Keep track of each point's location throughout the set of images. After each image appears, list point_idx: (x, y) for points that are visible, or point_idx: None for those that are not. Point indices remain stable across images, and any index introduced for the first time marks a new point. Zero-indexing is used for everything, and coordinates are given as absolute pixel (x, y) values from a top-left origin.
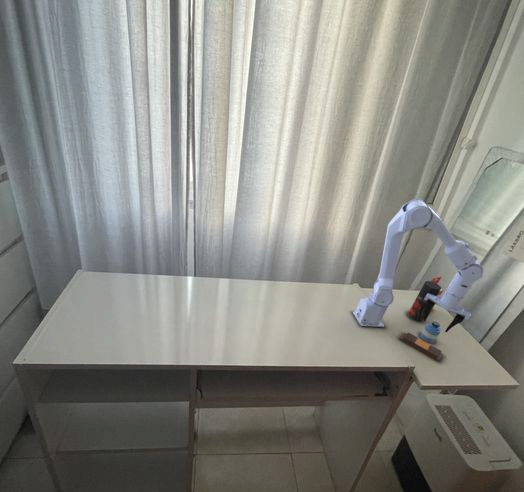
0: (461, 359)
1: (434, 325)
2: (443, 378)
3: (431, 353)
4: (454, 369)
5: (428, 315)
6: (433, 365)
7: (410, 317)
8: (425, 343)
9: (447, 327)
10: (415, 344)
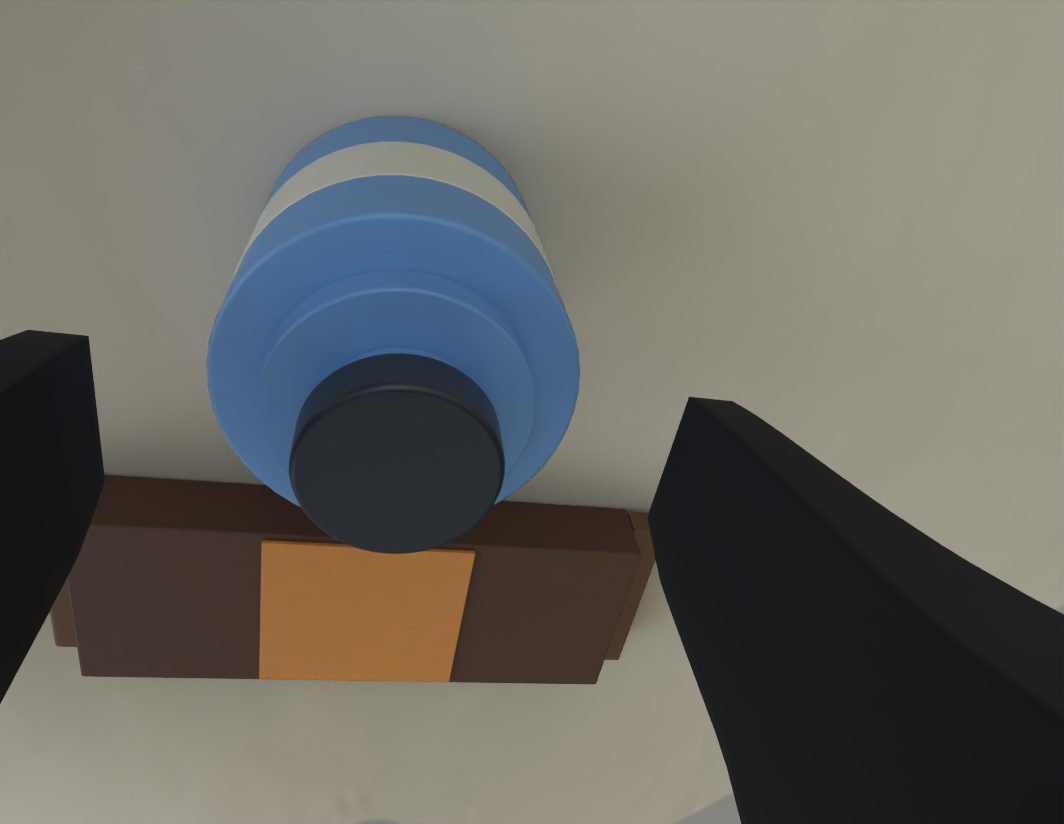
0: (935, 379)
1: (379, 537)
2: (661, 787)
3: (512, 675)
4: None
5: (20, 419)
6: (563, 717)
7: None
8: (397, 584)
9: (700, 530)
10: (283, 674)
